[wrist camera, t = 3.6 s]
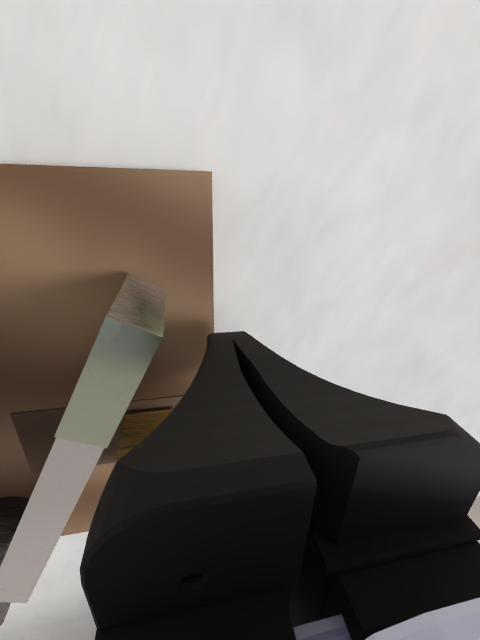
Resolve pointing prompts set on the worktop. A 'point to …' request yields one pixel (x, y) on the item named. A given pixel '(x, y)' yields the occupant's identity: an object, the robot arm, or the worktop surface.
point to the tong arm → (85, 429)
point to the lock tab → (138, 429)
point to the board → (93, 298)
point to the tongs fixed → (9, 531)
